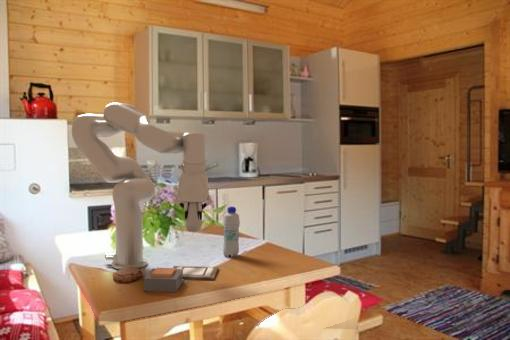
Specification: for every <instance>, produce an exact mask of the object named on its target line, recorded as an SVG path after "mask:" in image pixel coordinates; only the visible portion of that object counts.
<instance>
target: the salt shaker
mask: <svg viewBox="0 0 510 340" xmlns="http://www.w3.org/2000/svg"><path fill="white" fill-rule="evenodd" d="M197 211H199V210H198V203H195V202H189V204H188V217H187V221H186V220H185V219H184V220H185V221H184V226H185V228H186V230H187V231H188V232H189V233H190V232H191V233H196V232H199V231H200V229H201V228H202V226H203V222H202V220H200V214H199V219H198V215H197Z"/></svg>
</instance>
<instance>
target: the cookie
mask: <svg viewBox="0 0 510 340" xmlns="http://www.w3.org/2000/svg"><path fill="white" fill-rule="evenodd" d="M143 276H144V273H143V271H142V269H140V268H132V267H130V268H125V269H117V271H115V272H113V274H112V278H113V279H112V280H113V282H116V283H119V284H120V283H121V284H126V283H132V282H133V281H137V280H138V279H139V278H142V277H143Z"/></svg>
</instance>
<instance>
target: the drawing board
mask: <svg viewBox="0 0 510 340" xmlns="http://www.w3.org/2000/svg"><path fill="white" fill-rule="evenodd" d="M172 268H176V269H183V280H196V281H197V280H199V281H215V278H216V275H217V273H218V271H219V266H199V265H198V266H195V265H194V266H193V265H192V266H189V265H174V266H173V267H172Z"/></svg>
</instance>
